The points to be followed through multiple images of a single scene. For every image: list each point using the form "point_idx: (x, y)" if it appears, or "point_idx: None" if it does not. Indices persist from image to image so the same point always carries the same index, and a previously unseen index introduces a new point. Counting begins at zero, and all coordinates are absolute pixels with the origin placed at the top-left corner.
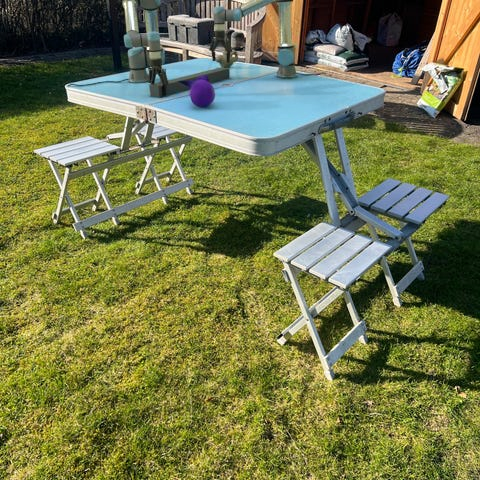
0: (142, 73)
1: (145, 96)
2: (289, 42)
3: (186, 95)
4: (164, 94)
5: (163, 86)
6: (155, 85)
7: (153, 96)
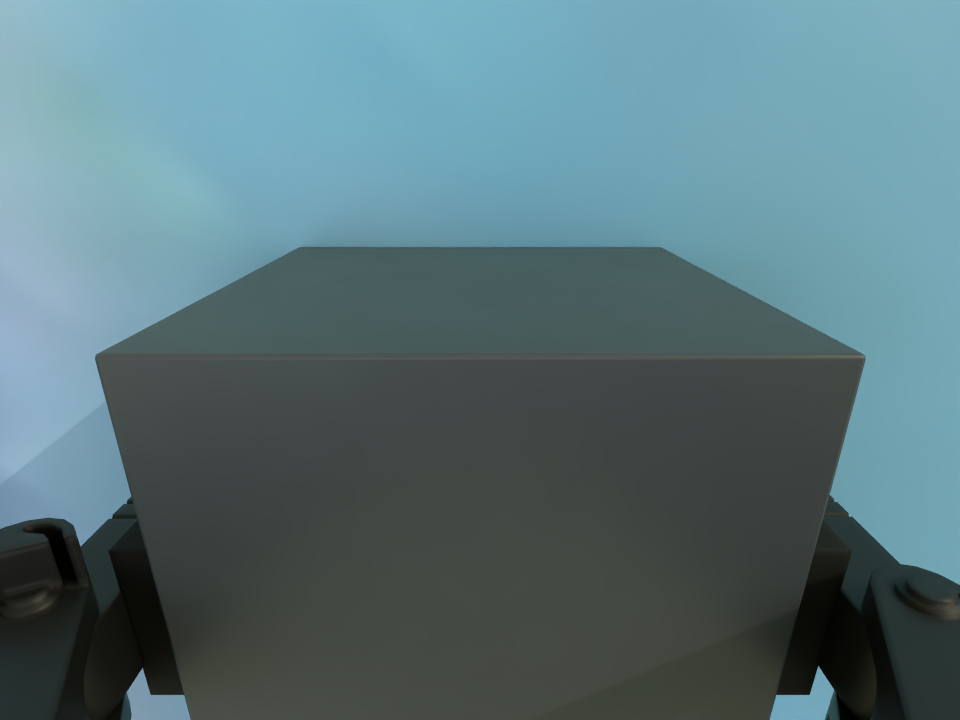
0: None
1: (786, 154)
2: None
3: None
4: None
5: (122, 570)
6: (391, 406)
7: (538, 248)
